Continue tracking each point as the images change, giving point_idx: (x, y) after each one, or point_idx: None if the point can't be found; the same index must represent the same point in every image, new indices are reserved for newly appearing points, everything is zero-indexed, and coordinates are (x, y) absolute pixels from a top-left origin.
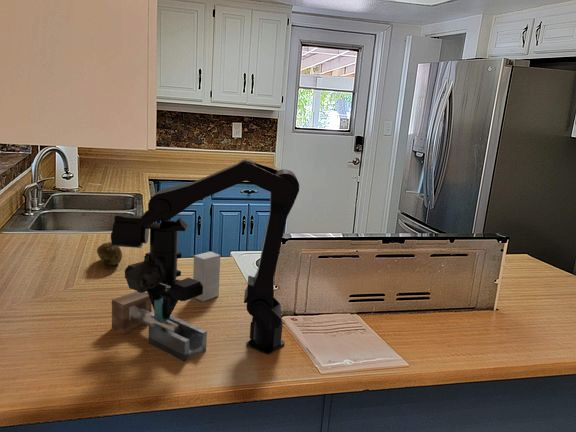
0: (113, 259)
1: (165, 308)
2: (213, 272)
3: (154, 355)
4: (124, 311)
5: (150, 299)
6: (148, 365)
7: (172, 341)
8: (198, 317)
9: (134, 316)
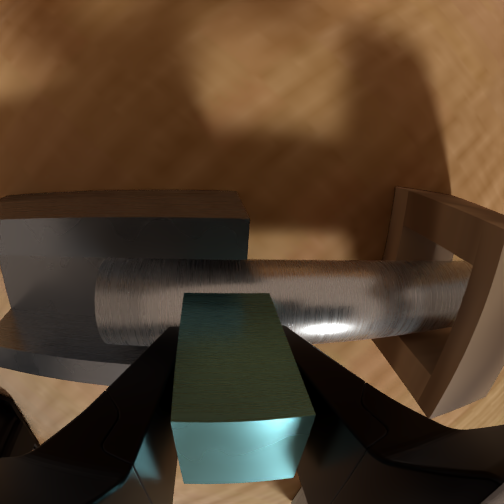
0: None
1: (128, 383)
2: None
3: (126, 134)
4: (471, 224)
5: (374, 391)
6: (86, 62)
7: (30, 208)
8: None
9: (417, 264)
